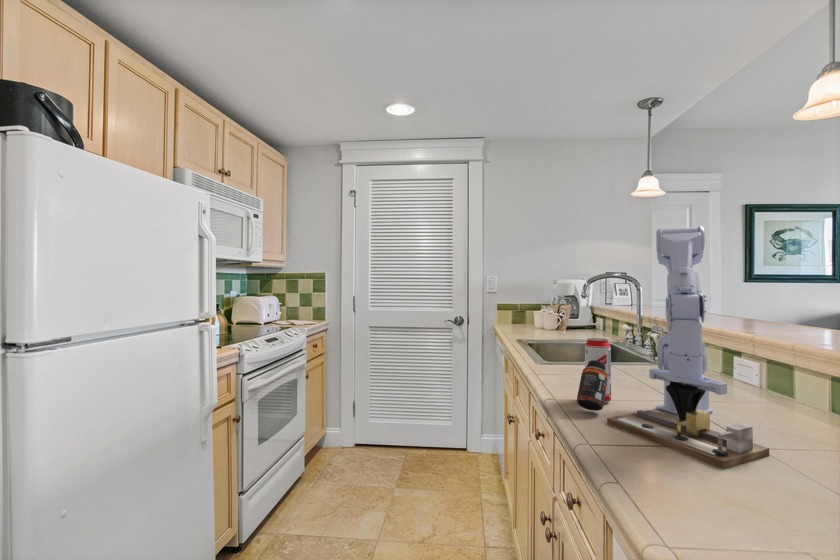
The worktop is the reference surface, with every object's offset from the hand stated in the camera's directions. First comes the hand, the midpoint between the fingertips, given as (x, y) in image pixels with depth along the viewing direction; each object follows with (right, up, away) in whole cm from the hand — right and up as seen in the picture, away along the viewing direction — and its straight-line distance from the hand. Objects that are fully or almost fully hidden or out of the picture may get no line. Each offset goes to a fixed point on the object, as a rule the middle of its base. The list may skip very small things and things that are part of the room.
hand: (685, 421), depth 83 cm
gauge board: (-1, -3, 0) cm, 3 cm away
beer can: (-7, -3, +24) cm, 26 cm away
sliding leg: (-1, -2, -3) cm, 3 cm away
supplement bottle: (-13, -2, +15) cm, 20 cm away
